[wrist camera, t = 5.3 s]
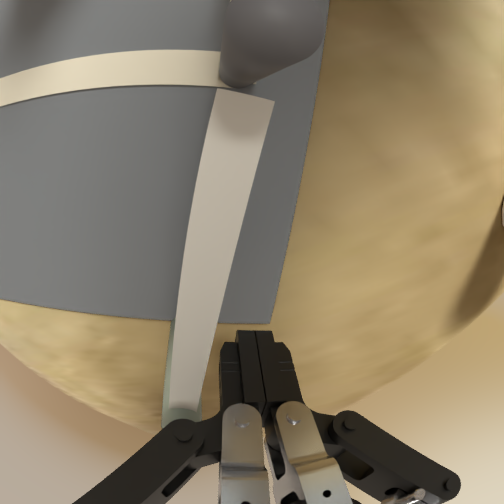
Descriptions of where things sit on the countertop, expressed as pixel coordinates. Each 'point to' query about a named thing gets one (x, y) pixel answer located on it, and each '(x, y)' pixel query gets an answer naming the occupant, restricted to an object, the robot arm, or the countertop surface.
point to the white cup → (503, 214)
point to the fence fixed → (267, 38)
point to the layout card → (132, 155)
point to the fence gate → (212, 243)
